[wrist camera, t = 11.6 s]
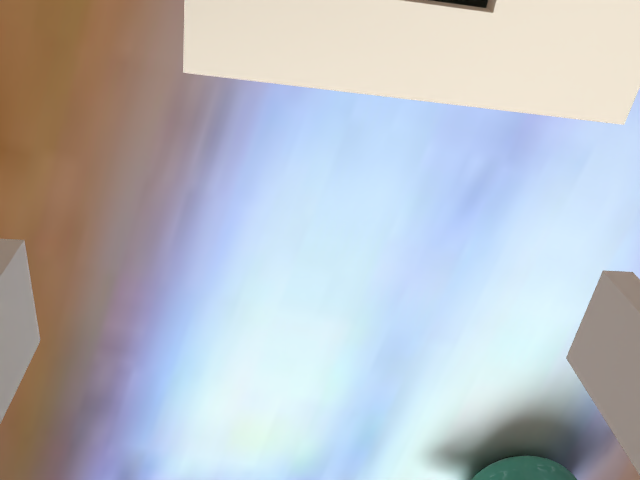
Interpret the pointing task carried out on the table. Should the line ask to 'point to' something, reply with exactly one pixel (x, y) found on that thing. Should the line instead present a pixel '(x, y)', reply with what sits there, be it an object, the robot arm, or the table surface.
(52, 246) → the table surface
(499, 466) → the mug
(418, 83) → the pale green white box
